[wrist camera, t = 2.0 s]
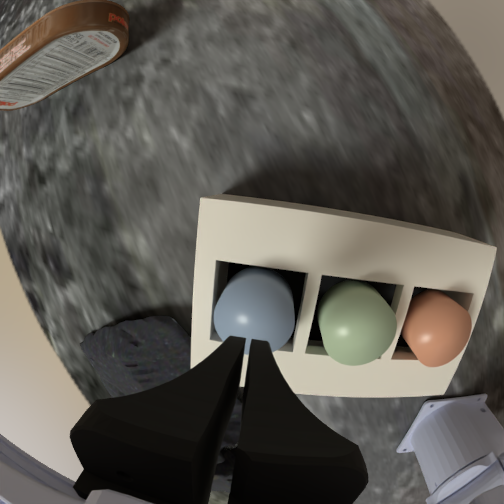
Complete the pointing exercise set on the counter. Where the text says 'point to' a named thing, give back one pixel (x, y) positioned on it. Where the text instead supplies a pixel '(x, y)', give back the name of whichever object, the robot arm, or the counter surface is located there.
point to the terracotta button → (436, 328)
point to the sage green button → (355, 323)
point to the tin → (61, 50)
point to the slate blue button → (256, 308)
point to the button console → (340, 265)
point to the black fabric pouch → (153, 370)
